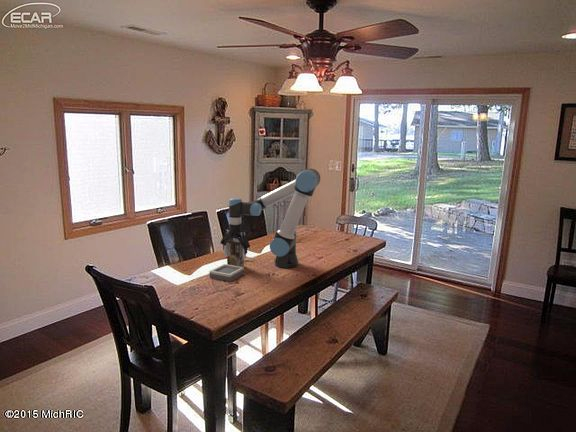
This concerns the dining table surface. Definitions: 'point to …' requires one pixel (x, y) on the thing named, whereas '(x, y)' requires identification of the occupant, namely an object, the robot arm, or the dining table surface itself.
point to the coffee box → (235, 253)
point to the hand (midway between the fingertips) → (235, 256)
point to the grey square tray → (226, 272)
